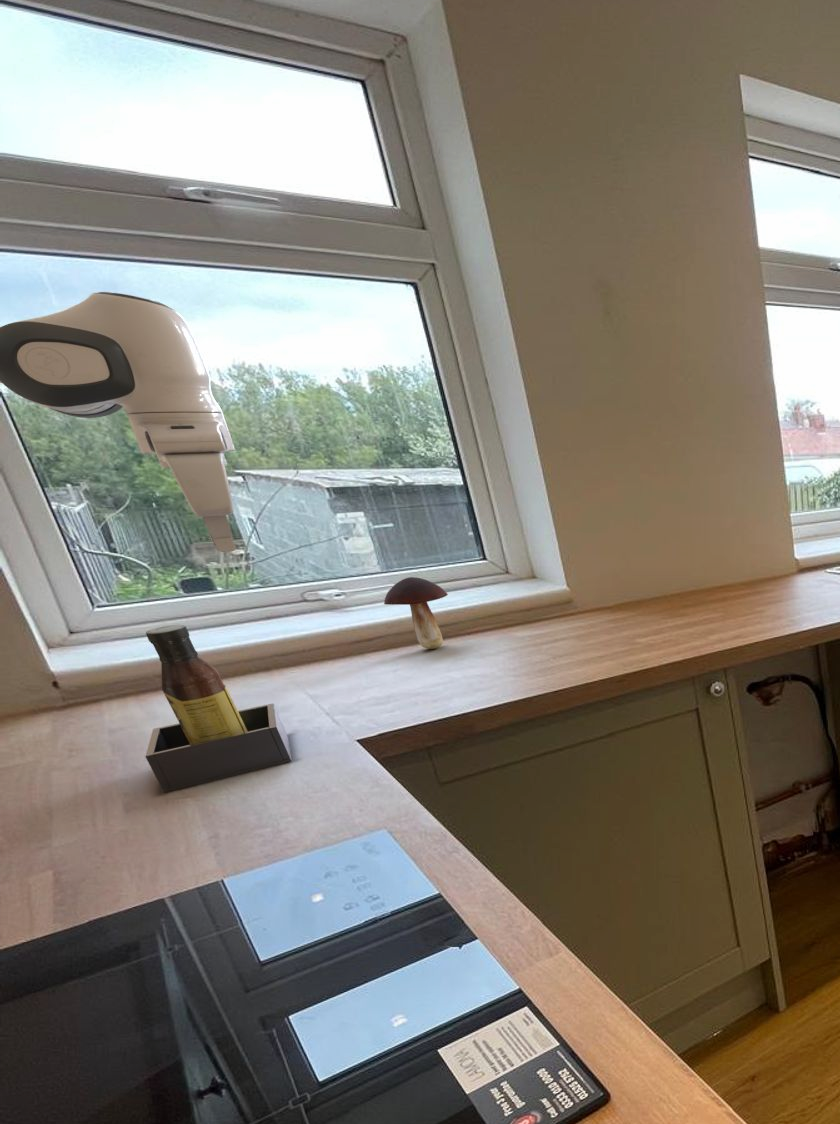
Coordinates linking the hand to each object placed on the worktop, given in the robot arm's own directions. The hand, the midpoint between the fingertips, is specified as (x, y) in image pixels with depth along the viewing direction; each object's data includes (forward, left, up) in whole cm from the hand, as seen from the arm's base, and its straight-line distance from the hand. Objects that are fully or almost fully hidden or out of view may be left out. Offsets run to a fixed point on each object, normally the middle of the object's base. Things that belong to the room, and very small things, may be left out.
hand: (225, 548), depth 108 cm
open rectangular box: (-9, +5, -30) cm, 32 cm away
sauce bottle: (-9, +5, -30) cm, 32 cm away
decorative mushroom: (+23, +51, -30) cm, 64 cm away
